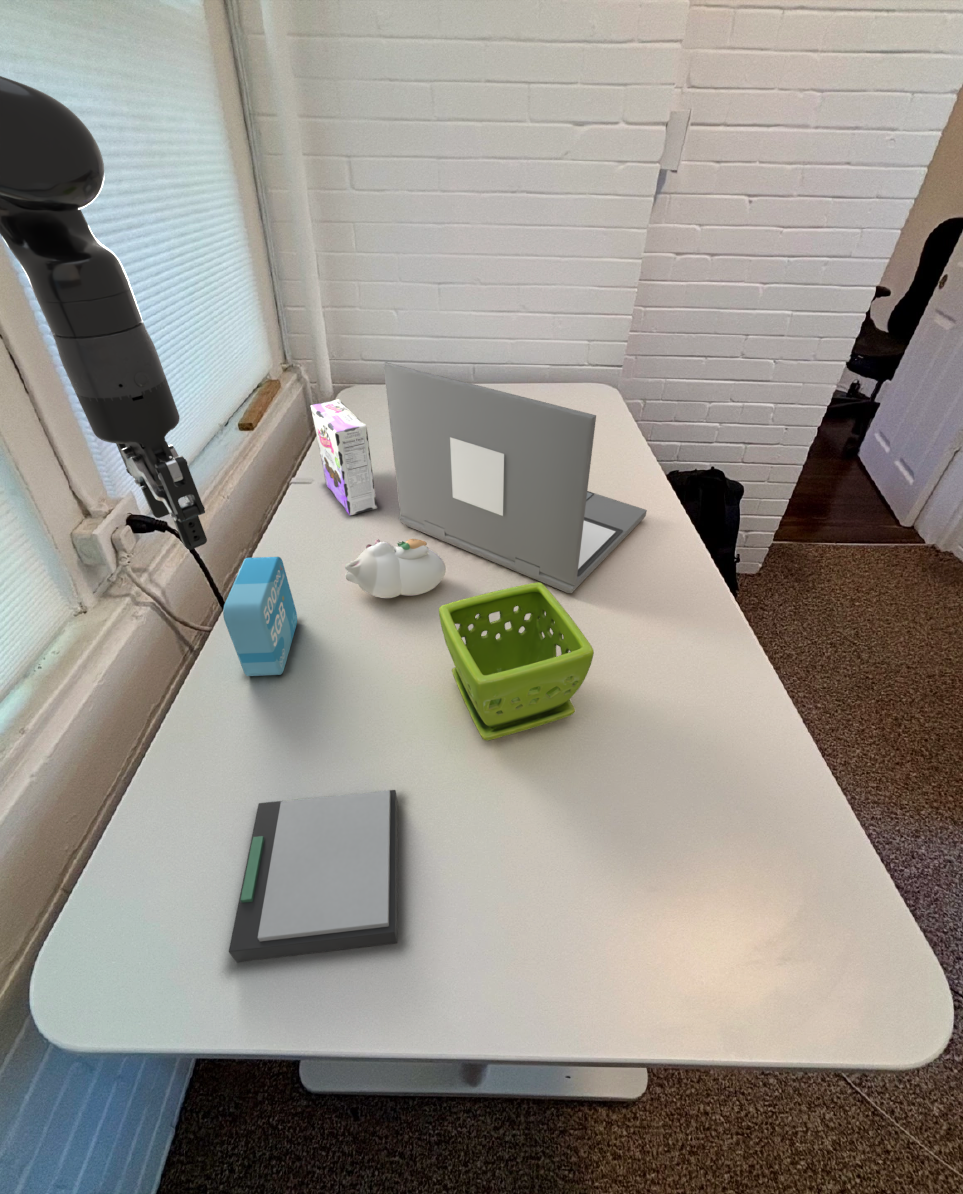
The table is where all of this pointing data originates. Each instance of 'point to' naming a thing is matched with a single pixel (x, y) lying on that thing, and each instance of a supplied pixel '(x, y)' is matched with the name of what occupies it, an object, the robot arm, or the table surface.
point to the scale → (319, 877)
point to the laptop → (501, 477)
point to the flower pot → (515, 658)
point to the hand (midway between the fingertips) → (180, 529)
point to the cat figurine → (396, 569)
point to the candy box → (345, 456)
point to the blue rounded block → (261, 616)
